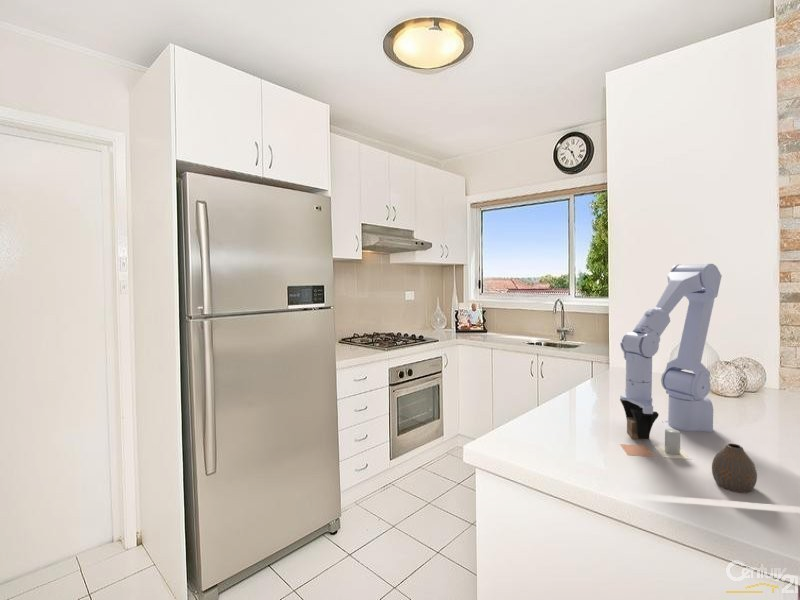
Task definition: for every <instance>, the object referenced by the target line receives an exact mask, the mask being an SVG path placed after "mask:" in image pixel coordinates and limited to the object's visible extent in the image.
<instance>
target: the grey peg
mask: <svg viewBox="0 0 800 600" xmlns="http://www.w3.org/2000/svg"><path fill="white" fill-rule="evenodd" d="M681 436H682V435H681V430H680V431H679V429H676V428H666V429H664V447H665V452H666V453H668V454H671V455H680V448H681Z"/></svg>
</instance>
